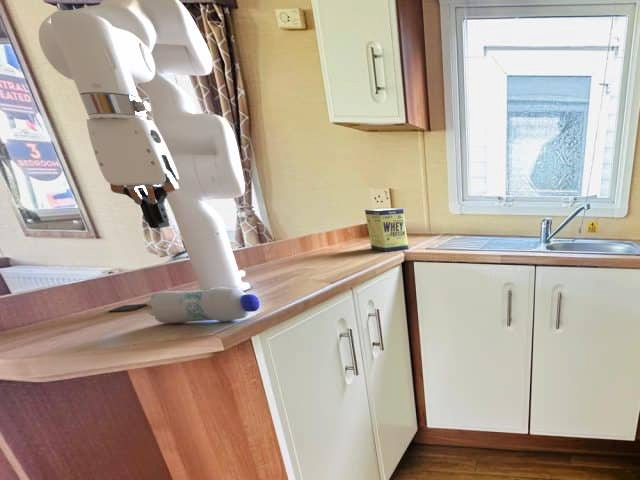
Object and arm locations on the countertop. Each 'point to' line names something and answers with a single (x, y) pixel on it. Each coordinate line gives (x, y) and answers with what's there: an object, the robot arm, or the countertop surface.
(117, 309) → the bottle marker
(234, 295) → the bottle
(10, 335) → the countertop surface
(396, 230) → the protein box
